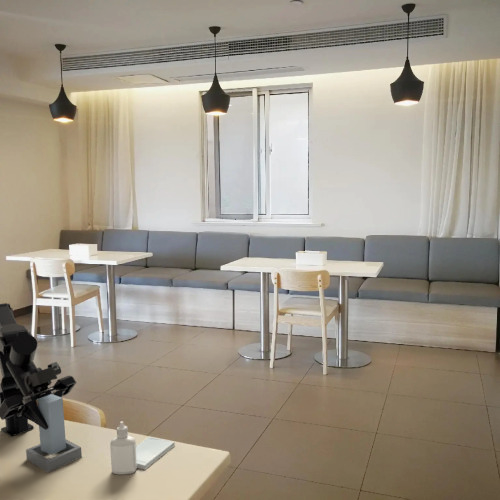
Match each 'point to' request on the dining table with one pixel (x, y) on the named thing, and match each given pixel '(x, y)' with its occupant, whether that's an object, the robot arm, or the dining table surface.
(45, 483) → the dining table surface
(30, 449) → the frame
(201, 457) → the dining table surface
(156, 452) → the hard drive
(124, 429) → the eye dropper bottle
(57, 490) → the dining table surface
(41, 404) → the block
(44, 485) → the dining table surface
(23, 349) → the robot arm
